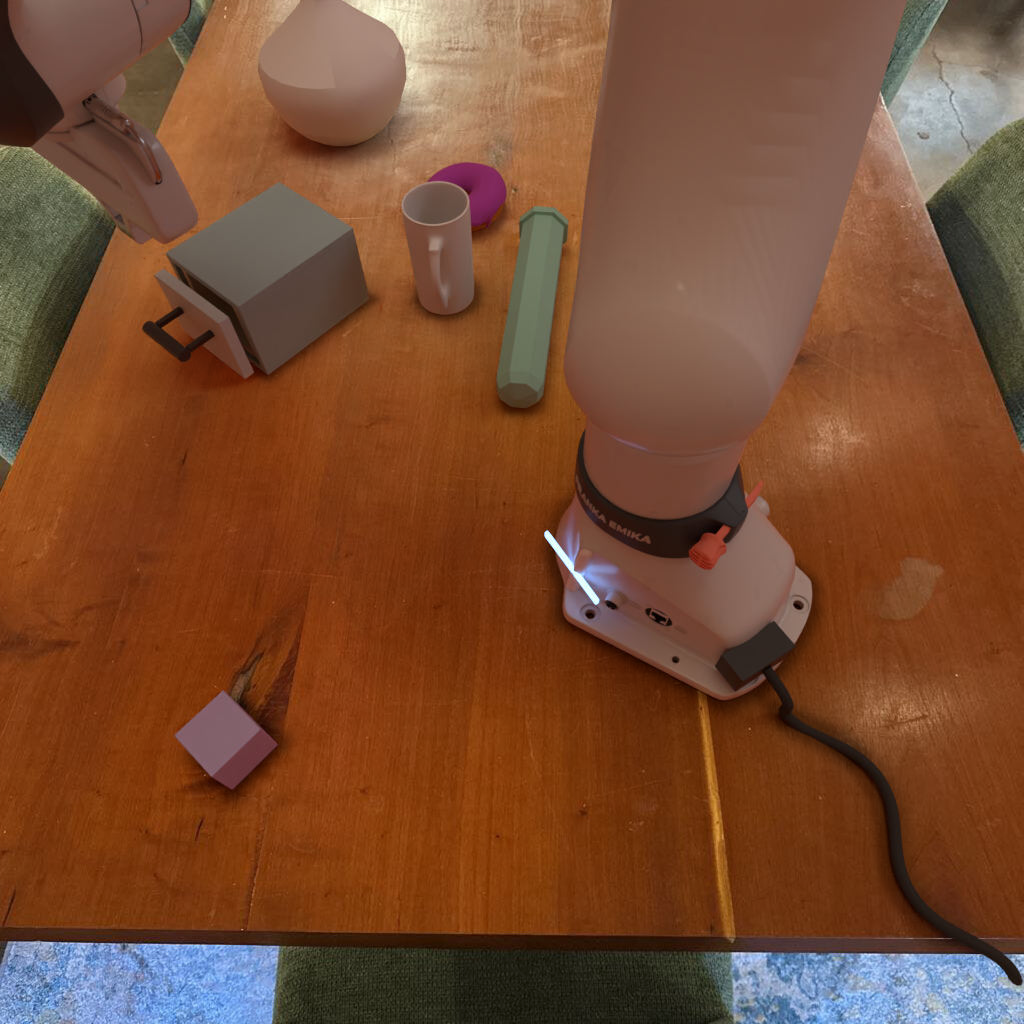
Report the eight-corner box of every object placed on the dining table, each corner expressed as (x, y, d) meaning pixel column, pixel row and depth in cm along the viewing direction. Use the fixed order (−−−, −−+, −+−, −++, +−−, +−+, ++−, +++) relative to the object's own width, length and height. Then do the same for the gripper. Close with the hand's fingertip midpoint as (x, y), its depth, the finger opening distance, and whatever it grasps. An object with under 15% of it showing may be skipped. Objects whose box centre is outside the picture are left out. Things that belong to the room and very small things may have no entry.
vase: (250, 123, 103) (198, -37, 87) (360, 71, 109) (330, -88, 93) (328, 185, 96) (287, 23, 79) (441, 125, 102) (424, -37, 86)
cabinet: (268, 375, 80) (238, 306, 71) (200, 323, 84) (164, 252, 75) (370, 299, 85) (353, 227, 77) (302, 254, 89) (279, 181, 81)
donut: (462, 176, 96) (459, 142, 92) (525, 208, 93) (525, 174, 89) (406, 219, 92) (401, 185, 88) (470, 253, 89) (468, 220, 85)
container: (534, 375, 71) (559, 198, 83) (477, 385, 73) (510, 213, 86) (556, 413, 75) (577, 240, 88) (502, 422, 78) (530, 253, 90)
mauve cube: (278, 744, 60) (260, 729, 56) (232, 790, 58) (211, 777, 54) (242, 707, 61) (223, 690, 57) (196, 750, 60) (173, 735, 56)
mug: (418, 274, 87) (404, 181, 77) (477, 274, 87) (470, 180, 77) (411, 339, 82) (394, 248, 71) (474, 339, 82) (466, 248, 71)
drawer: (211, 404, 76) (180, 350, 70) (150, 354, 80) (116, 298, 74) (342, 307, 83) (326, 249, 77) (281, 265, 87) (260, 206, 80)
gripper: (177, 106, 52) (242, 267, 63) (18, 8, 59) (103, 170, 71) (96, 150, 49) (180, 309, 61) (-59, 42, 56) (43, 203, 68)
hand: (138, 233), depth 66 cm, fingers closed
